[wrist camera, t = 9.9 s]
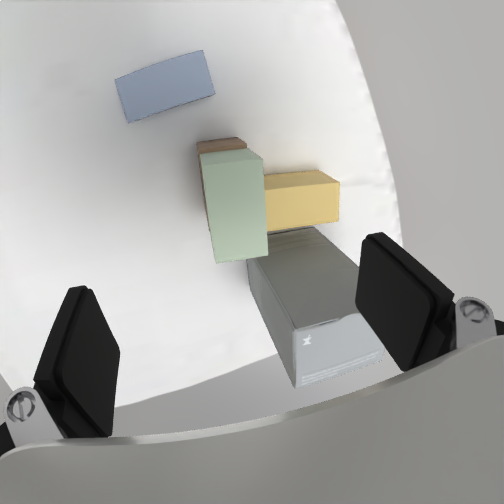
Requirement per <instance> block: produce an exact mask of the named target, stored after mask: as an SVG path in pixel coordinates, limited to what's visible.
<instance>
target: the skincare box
mask: <svg viewBox="0 0 504 504" xmlns="http://www.w3.org/2000/svg"><path fill="white" fill-rule="evenodd" d="M267 240H268V255H267V256H261V257H255V258H249V259H247V265H248V274H249V283H250V290H251V292H252V295H253V297H254V299H255V302H256V304H257V306H258V309H259V311H260V313H261V315H262V318H263V320H264V322H265V324H266V327H267V329H268V331H269V333H270V336H271V338H272V340H273V342H274V345H275V347H276V349H277V351H278V354H279V356H280V358H281V360H282V362H283V365H284V367H285V369H286V371H287V374H288V376H289V378H290V380H291V382H292V384H293V387H294V388H295V389H299V388H302V387H305V386H309V385H312V384H315V383H319V382H322V381H325V380H328V379H331V378H334V377H337V376H340V375H343V374H346V373H349V372H352V371H355V370H357V369H360V368H363V367H366V366H368V365H371V364H374V363H377V362H380V361H382V359H383V355H384V351H385V347H384V345H383V344H382V342H381V341H380V340H379V338H378V337H377V335H376V334H375V333H374V331H373V330H372V328H371V327H370V326H369V324H368V323H367V322H366V320H365V319H364V317H363V316H362V315H361V313H360V312H359V311H358V309H357V307H356V304H355V296H356V289H357V282H358V274H359V267H358V266H357V265H356V264H355V263H354V262H353V261H352V260H351V259H350V258H348V257H347V256H346V255H345V254H344V253H343V252H342V251H341V250H340V249H338V248H337V247H336V246H335V245H334V244H333V243H332V242H331V241H329V240H328V239H327V238H326V237H325V236H324V235H323V234H321V233H320V232H319V231H318V230H317V229H316V228H315V227H312V228H306V229H301V230H295V231H290V232H285V233H279V234H273V235H268V236H267Z"/></svg>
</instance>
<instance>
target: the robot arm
mask: <svg viewBox="0 0 504 504" xmlns="http://www.w3.org/2000/svg"><path fill="white" fill-rule="evenodd" d="M453 297H454V293H453V292H452V291H451V290H450V289H448V288H447V287H446V286H445V285H444V284H443V283H442V282H441V281H439V279H437V278H436V277H435V276H434V275H433V274H432V273H431V272H429V271H428V270H427V269H426V268H425V267H424V266H423V265H422V264H420V263H419V262H418V261H417V260H416V259H415V258H413V257H412V256H411V255H410V254H409V253H407V252H406V251H405V250H404V249H403V248H402V247H400V246H399V245H398V244H397V243H396V242H394V241H393V240H392V239H391V238H389V237H388V236H387V235H386V234H384V233H383V232H379V233H374V234H368V235H367V236H366V238H365V239H364V240H363V241H362V247H361V257H360V266H359V274H358V282H357V289H356V296H355V304H356V307H357V309H358V311H359V312H360V313H361V315H362V316H363V317H364V319H365V320H366V322H367V323H368V324H369V326H370V327H371V328H372V330H373V331H374V333H375V334H376V335H377V337H378V338H379V340H380V341H381V342H382V344H383V345H384V347H385V348H386V349H387V351H388V352H389V354H390V355H391V356H392V358H393V359H394V361H395V362H396V364H397V365H398V367H399V368H400V369H401V370H402V371H404V373H402V374H399V375H397V376H395V377H392V378H390V379H387V380H385V381H383V382H380V383H377V384H374V385H372V386H369V387H366V388H363V389H361V390H358V391H355V392H352V393H349V394H346V395H343V396H340V397H337V398H334V399H331V400H328V401H324V402H321V403H318V404H314V405H311V406H307V407H304V408H300V409H297V410H293V411H289V412H285V413H281V414H277V415H273V416H269V417H265V418H260V419H256V420H251V421H246V422H241V423H236V424H231V425H224V426H219V427H213V428H206V429H200V430H193V431H185V432H177V433H168V434H157V435H145V436H129V437H109V438H108V436H111V435H112V429H113V416H114V404H115V394H116V384H117V376H118V368H119V360H120V350H119V346H118V344H117V342H116V340H115V338H114V336H113V334H112V332H111V330H110V328H109V326H108V324H107V321H106V319H105V317H104V315H103V313H102V311H101V308H100V306H99V304H98V302H97V299H96V297H95V295H94V292H93V290H92V289H88V288H87V287H86V286H85V285H83V286H77V287H72V288H69V290H68V292H67V294H66V296H65V298H64V300H63V303H62V305H61V307H60V310H59V312H58V314H57V317H56V319H55V321H54V324H53V326H52V329H51V331H50V334H49V336H48V339H47V342H46V344H45V347H44V350H43V352H42V355H41V358H40V361H39V364H38V367H37V370H36V373H35V376H34V379H33V380H34V382H35V384H34V388H31V387H22V388H19V389H17V390H15V391H14V392H13V393H11V394H10V395H9V397H8V398H7V400H6V402H5V404H4V409H3V415H4V419H5V422H4V423H3V424H2V425H1V426H0V504H504V322H502V321H499V320H495V319H494V316H493V312H492V310H491V308H490V307H489V306H488V305H487V304H486V303H485V302H483V301H482V300H480V299H477V298H474V297H462V298H461V299H459V300H458V301H457V303H456V304H455V303H454V302H453V301H452V300H453ZM405 371H406V372H405Z"/></svg>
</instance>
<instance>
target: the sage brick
mask: <svg viewBox="0 0 504 504" xmlns="http://www.w3.org/2000/svg"><path fill="white" fill-rule="evenodd" d="M200 158H201V166H202V175H203V183H204V191H205V198H206V206H207V213H208V221H209V228H210V235H211V240H212V246H213V251H214V256H215V261H216V264H218V263H224V262H230V261H236V260H243V259H249V258H255V257H261V256H267V255H268V240H267V222H266V204H265V187H264V171H263V159H262V158H261V157H260V156H258V155H257V154H255V153H254V152H253V151H251V150H250V149H249V148H244V149H235V150H226V151H218V152H210V153H203V154H200Z"/></svg>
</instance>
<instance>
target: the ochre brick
mask: <svg viewBox="0 0 504 504" xmlns="http://www.w3.org/2000/svg"><path fill="white" fill-rule="evenodd" d="M264 187H265V204H266V222H267V232H268V231H275V230H281V229H288V228H295V227H302V226H309V225H316V224H323V223H330V222H337V221H338V219H339V189H340V182H338V181H336V180H335V179H333V178H331V177H330V176H328V175H326V174H324V173H323V172H321V171H319V170H314V171H302V172H292V173H282V174H272V175H264Z"/></svg>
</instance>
